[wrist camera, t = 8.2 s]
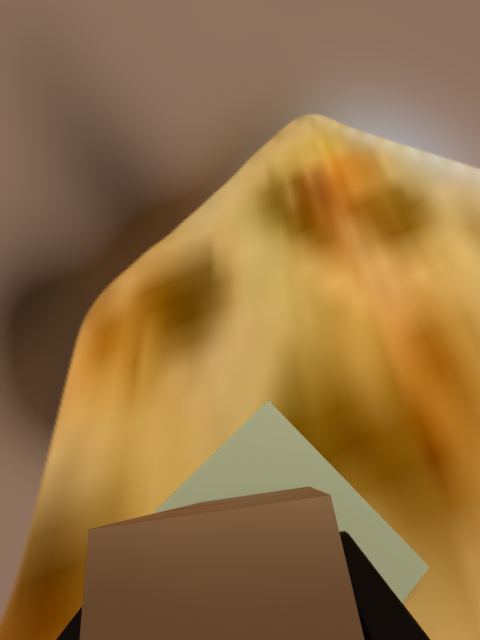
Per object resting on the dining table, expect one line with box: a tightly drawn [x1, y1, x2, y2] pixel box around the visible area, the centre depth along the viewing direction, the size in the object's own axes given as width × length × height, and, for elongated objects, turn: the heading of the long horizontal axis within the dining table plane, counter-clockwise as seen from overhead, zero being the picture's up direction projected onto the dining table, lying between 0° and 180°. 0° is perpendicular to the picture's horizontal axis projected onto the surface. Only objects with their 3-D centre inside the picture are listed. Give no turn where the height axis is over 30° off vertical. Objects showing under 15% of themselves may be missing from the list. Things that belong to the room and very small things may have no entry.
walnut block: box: [80, 486, 364, 640], centre depth 9 cm, size 5×5×9 cm
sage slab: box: [153, 400, 429, 603], centre depth 16 cm, size 10×10×3 cm
